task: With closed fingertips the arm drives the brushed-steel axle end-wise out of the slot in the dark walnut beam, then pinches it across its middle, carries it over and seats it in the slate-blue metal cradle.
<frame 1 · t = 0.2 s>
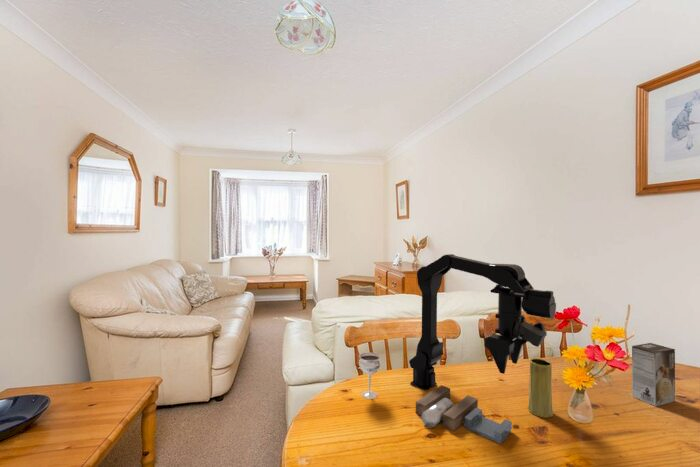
hand: (508, 368, 87), 14 cm above the table, fingers open, 9 cm apart
coffee box: (653, 400, 98), on the table
axle: (438, 412, 87), point 2 cm above the table
vase: (540, 412, 91), on the table
wineglass: (369, 395, 100), on the table
beam: (446, 411, 90), on the table
cradle: (487, 429, 82), on the table
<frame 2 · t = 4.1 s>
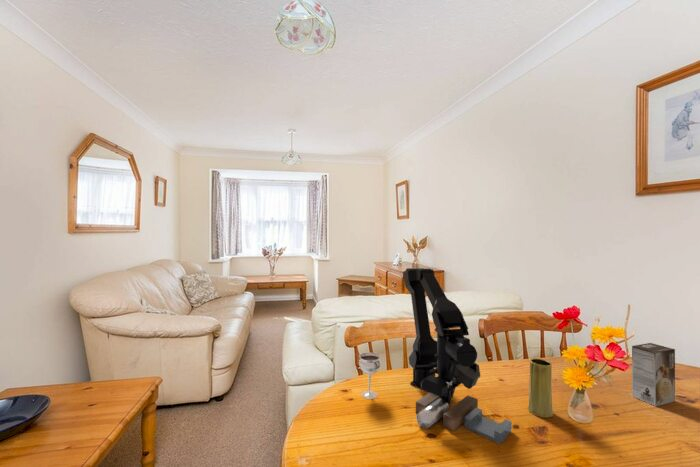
hand: (447, 406, 90), 1 cm above the table, fingers closed
axle: (433, 412, 86), point 2 cm above the table, tilted 15°, touching gripper
everything else where it was.
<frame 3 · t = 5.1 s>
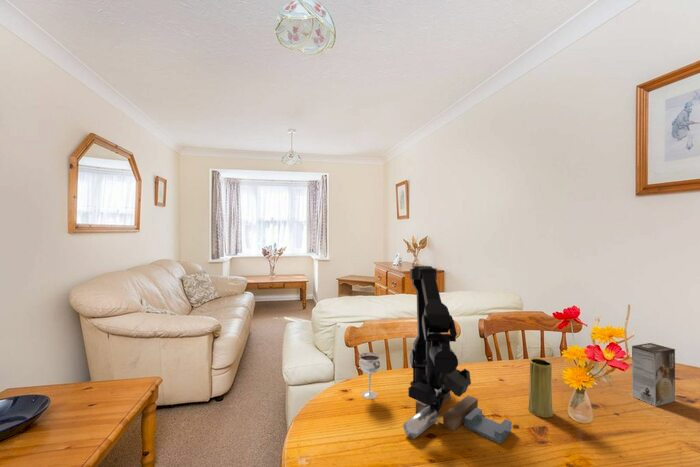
hand: (436, 414, 86), 1 cm above the table, fingers closed
axle: (421, 421, 82), point 2 cm above the table, tilted 15°, touching gripper
everything else where it was.
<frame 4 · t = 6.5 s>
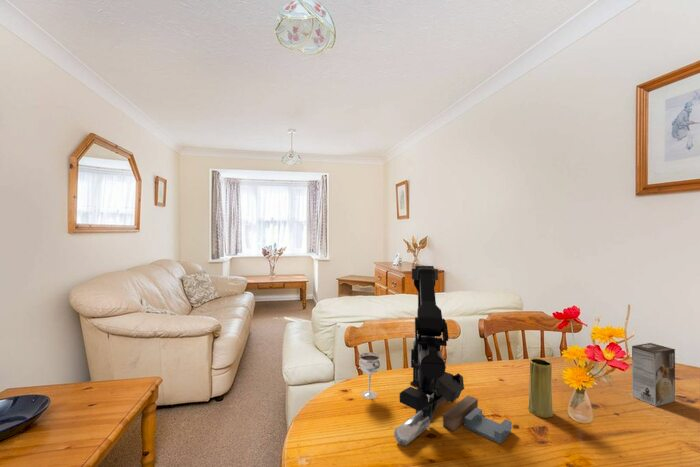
hand: (429, 420, 84), 1 cm above the table, fingers closed
axle: (412, 427, 80), point 2 cm above the table, tilted 14°, touching gripper
everything else where it was.
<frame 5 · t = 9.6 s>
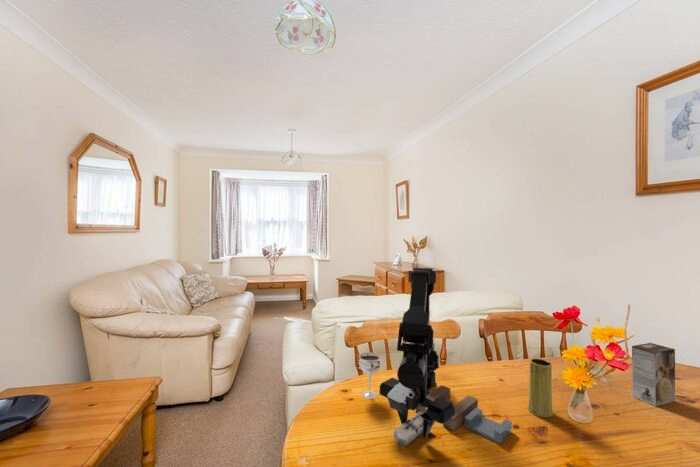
hand: (414, 432, 79), 1 cm above the table, fingers open, 6 cm apart
axle: (412, 428, 80), point 2 cm above the table, tilted 22°
everything else where it was.
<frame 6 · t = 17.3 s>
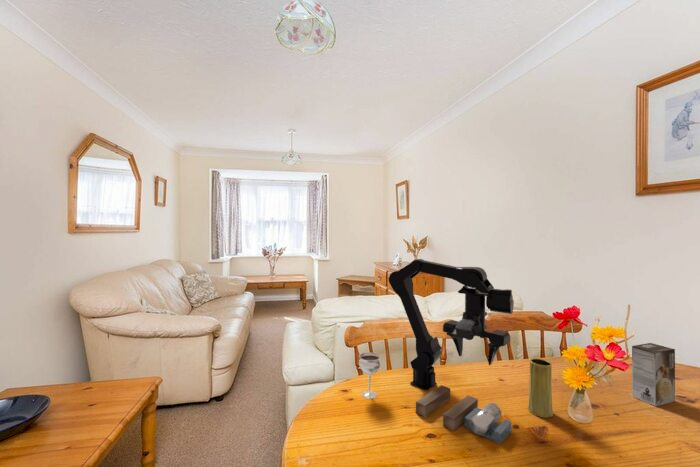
hand: (474, 360, 97), 12 cm above the table, fingers open, 9 cm apart
axle: (485, 418, 82), point 3 cm above the table, tilted 11°, touching cradle
everything else where it was.
at the end: axle inside the target area on the cradle (0.6 cm from its centre), point 2.8 cm above the cradle's base; the gripper is holding nothing; axle touching cradle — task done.
